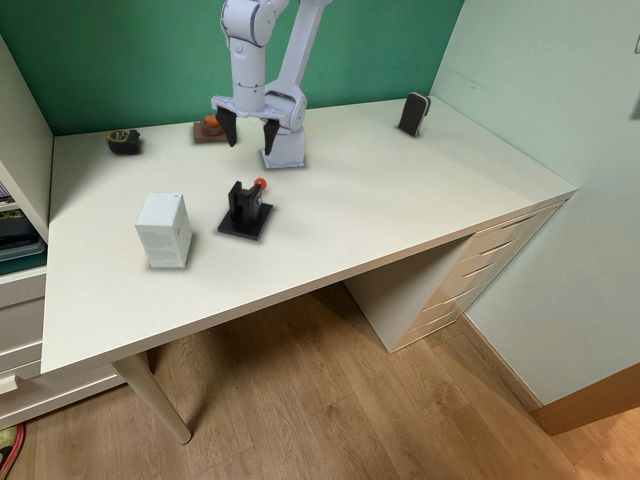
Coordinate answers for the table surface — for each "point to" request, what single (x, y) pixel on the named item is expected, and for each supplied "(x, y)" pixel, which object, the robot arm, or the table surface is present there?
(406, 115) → the battery charger
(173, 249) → the small box
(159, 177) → the table surface
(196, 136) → the button block
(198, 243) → the table surface
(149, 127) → the table surface
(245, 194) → the lever
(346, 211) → the table surface
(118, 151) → the tape measure
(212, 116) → the button
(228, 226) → the lever bracket
